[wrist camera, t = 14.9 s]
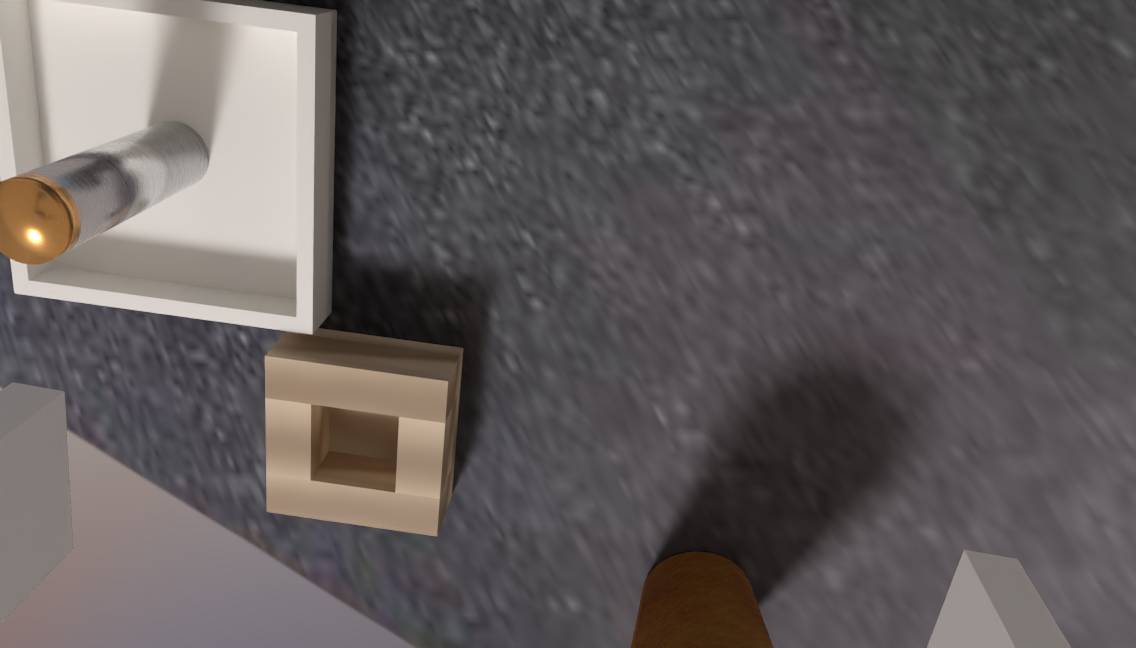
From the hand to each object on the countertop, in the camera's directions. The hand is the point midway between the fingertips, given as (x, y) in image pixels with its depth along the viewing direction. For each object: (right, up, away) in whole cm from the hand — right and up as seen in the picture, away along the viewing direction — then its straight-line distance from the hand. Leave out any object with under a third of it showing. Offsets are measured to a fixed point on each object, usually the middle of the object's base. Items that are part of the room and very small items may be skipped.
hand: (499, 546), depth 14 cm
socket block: (-9, -2, +37) cm, 38 cm away
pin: (-18, +11, +32) cm, 38 cm away
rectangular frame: (-18, +12, +32) cm, 39 cm away
